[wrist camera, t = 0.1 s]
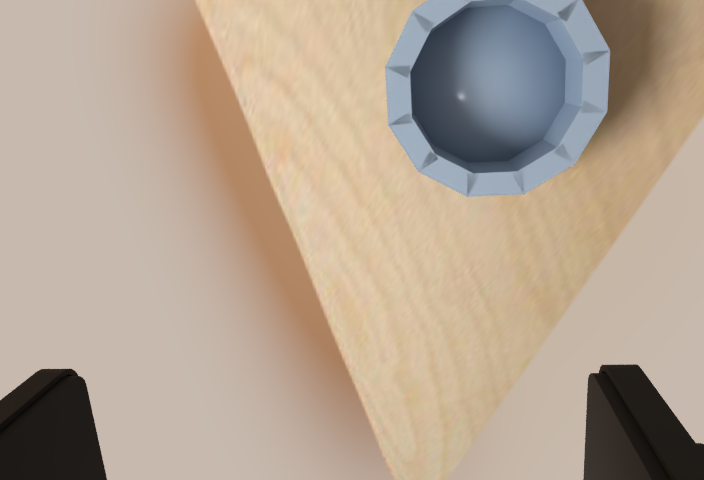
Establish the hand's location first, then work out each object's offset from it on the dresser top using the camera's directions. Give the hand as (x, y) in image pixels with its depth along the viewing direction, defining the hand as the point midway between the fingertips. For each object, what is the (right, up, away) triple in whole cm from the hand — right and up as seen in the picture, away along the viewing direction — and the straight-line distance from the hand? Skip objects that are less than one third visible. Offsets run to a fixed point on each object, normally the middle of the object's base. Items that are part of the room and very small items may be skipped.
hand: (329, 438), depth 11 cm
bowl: (+9, +14, +28) cm, 32 cm away
